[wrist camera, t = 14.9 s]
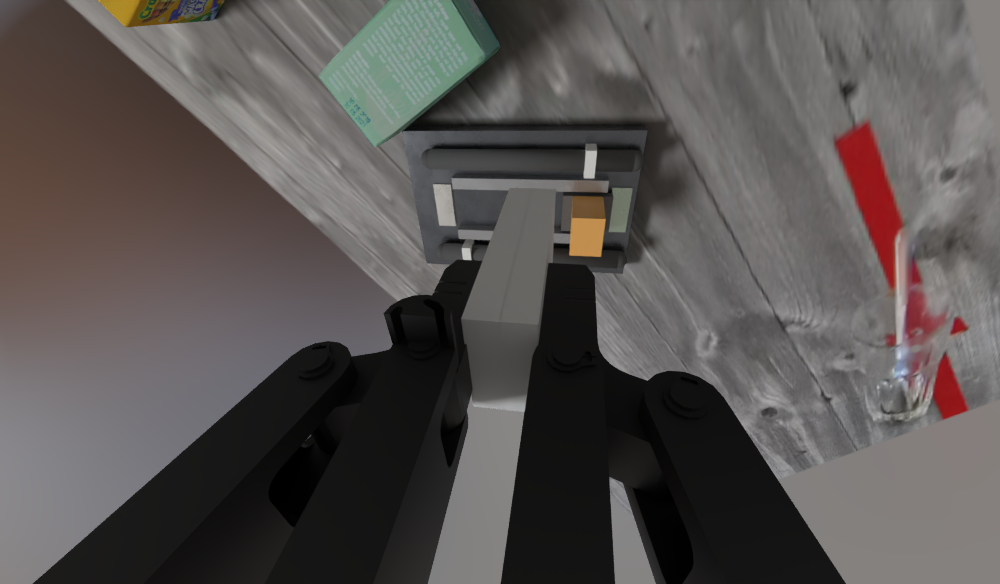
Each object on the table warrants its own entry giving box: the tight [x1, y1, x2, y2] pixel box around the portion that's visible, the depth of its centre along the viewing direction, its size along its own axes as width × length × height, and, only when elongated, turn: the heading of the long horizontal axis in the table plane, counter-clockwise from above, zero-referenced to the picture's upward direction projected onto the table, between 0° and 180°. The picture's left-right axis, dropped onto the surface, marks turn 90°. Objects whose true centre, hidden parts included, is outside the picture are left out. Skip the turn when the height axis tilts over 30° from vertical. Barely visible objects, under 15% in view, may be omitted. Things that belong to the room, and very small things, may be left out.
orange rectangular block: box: [561, 192, 613, 257], centre depth 39 cm, size 4×5×6 cm
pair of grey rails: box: [421, 144, 644, 269], centre depth 42 cm, size 14×22×2 cm, turn 92°
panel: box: [402, 125, 648, 274], centre depth 43 cm, size 16×24×3 cm, turn 92°
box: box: [318, 0, 500, 147], centre depth 34 cm, size 7×14×8 cm, turn 125°
